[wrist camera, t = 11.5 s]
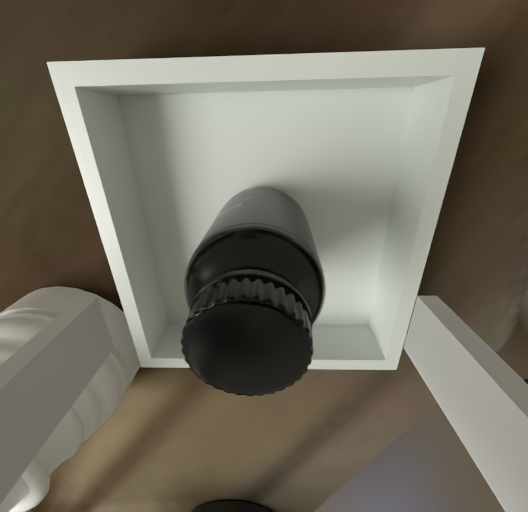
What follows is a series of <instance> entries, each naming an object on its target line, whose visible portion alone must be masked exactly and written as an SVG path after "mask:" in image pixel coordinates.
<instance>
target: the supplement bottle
mask: <svg viewBox="0 0 528 512" xmlns="http://www.w3.org/2000/svg"><path fill="white" fill-rule="evenodd" d="M184 293H185V298H186V302H187V305H188V308H189V310H190V311H189V315H188V318H187V320H186V322H185V324H184V326H183V329H182V337H181V345H182V351H181V352H182V353H183V355H184V356H185V362H186V363H187V364H188V365H189V367H190V370H192V371H193V372H195V374H196V376H197V377H198V378H200V379H202V380H203V381H204V382H205V383H206V384H209V385H212V386H213V387H214V388H216V389H220V390H223V391H225V392H227V393H234V394H237V395H247V396H253V395H260V396H262V395H264V394H273V393H275V392H276V391H281V390H284V389H285V388H286V387H288V386H292V385H293V384H294V383H295V381H298V380H300V379H301V377H302V375H303V374H304V373H306V372H307V370H308V366H309V365H310V364H311V362H312V355H313V352H314V348H313V336H312V325H313V324H314V323H315V321H316V320H317V318H318V316H319V315H320V313H321V310H322V308H323V305H324V301H325V294H326V285H325V278H324V273H323V269H322V266H321V262H320V259H319V256H318V253H317V249H316V246H315V243H314V240H313V237H312V233H311V230H310V227H309V224H308V221H307V218H306V216H305V214H304V212H303V210H302V208H301V207H300V206H299V204H298V203H297V202H296V201H295V200H294V199H293V198H292V197H290V196H289V195H287V194H286V193H284V192H282V191H280V190H277V189H273V188H267V187H256V188H250V189H247V190H244V191H242V192H240V193H238V194H236V195H235V196H233V197H232V198H231V199H230V200H229V201H228V202H227V203H226V204H225V205H224V207H223V208H222V209H221V211H220V212H219V214H218V216H217V217H216V219H215V220H214V222H213V223H212V225H211V227H210V228H209V230H208V231H207V233H206V234H205V236H204V238H203V239H202V241H201V242H200V244H199V245H198V247H197V249H196V250H195V252H194V253H193V255H192V257H191V259H190V261H189V263H188V266H187V269H186V272H185V277H184Z"/></svg>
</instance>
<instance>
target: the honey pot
mask: <svg viewBox="0 0 528 512" xmlns="http://www.w3.org/2000/svg"><path fill="white" fill-rule="evenodd" d="M79 297H98V300H99V303H100V306H101V309H102V312H103V315H104V318H105V321H106V324H107V327H108V330H109V333H110V336H111V339H112V342H113V345H114V349H113V350H112V352H111V353H110V355H109V356H108V357H107V359H106V360H105V361H104V363H103V364H102V366H101V367H100V368H99V370H98V371H97V372H96V374H95V375H94V377H93V378H92V379H91V381H90V382H89V383H88V385H87V386H86V388H85V389H84V390H83V392H82V393H81V394H80V396H79V397H78V399H77V400H76V401H75V403H74V404H73V405H72V407H71V408H70V409H69V411H68V412H67V414H66V415H65V416H64V418H63V419H62V420H61V422H60V423H59V425H58V426H57V427H56V429H55V430H54V431H53V433H52V434H51V436H50V437H49V438H48V440H47V441H46V442H45V444H44V445H43V447H42V448H41V449H40V451H39V452H38V453H37V455H36V456H35V458H34V459H33V460H32V462H31V463H30V464H29V466H28V467H27V468H26V470H25V471H24V473H23V474H22V475H21V477H20V478H19V479H18V481H17V482H16V484H15V485H14V486H13V488H12V489H11V490H10V492H9V493H8V495H7V496H6V497H5V499H4V500H3V501H2V503H1V504H0V512H25V511H27V510H29V509H31V508H33V507H35V506H36V505H38V504H39V503H40V502H41V501H42V499H43V498H44V497H45V495H46V494H47V493H48V490H49V483H50V474H51V473H52V472H53V471H54V470H55V469H56V468H57V467H58V466H59V465H60V464H61V463H62V462H63V461H64V460H66V459H68V458H70V457H71V456H73V455H74V454H75V452H76V451H77V450H78V448H79V447H80V446H81V444H82V442H83V441H85V440H87V439H88V438H89V437H90V436H91V435H92V433H93V432H94V431H95V429H96V428H97V427H98V426H100V425H101V424H103V423H105V422H106V421H107V420H108V419H109V417H110V416H111V415H112V414H113V412H114V411H115V410H116V408H117V407H118V405H119V402H120V400H121V399H122V398H123V396H124V394H125V392H126V391H127V389H128V387H129V386H130V384H131V382H132V380H133V378H134V377H135V375H136V373H137V371H138V369H139V368H140V366H141V365H140V361H139V358H138V355H137V352H136V348H135V345H134V342H133V339H132V336H131V332H130V329H129V326H128V323H127V320H126V316H125V313H124V312H123V311H122V310H120V309H119V308H118V307H117V306H115V305H114V304H113V303H111V302H109V301H107V300H105V299H104V298H102V297H100V296H98V295H96V294H93V293H90V292H87V291H84V290H81V289H77V288H70V287H60V286H56V287H48V288H41V289H39V290H36V291H34V292H32V293H29V294H27V295H26V296H24V297H23V298H21V299H20V300H19V301H17V302H16V303H14V304H13V305H11V306H10V307H8V308H7V309H5V310H4V311H2V312H1V313H0V365H1V364H2V363H4V362H5V361H6V360H7V359H8V358H9V357H11V356H12V355H13V354H14V353H15V352H16V351H18V350H19V349H20V348H21V347H22V346H23V345H25V344H26V343H27V342H28V341H29V340H30V339H32V338H33V337H34V336H35V335H36V334H37V333H39V332H40V331H41V330H42V329H43V328H44V327H46V326H47V325H48V324H49V323H50V322H51V321H53V320H54V319H55V318H56V317H57V316H58V315H60V314H61V313H62V312H63V311H64V310H65V309H67V308H68V307H69V306H70V305H71V304H72V303H74V302H75V301H76V300H77V299H78V298H79Z"/></svg>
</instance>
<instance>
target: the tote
mask: <svg viewBox="0 0 528 512" xmlns="http://www.w3.org/2000/svg"><path fill="white" fill-rule="evenodd" d="M484 50H485V48H456V49H426V50H396V51H366V52H336V53H306V54H276V55H246V56H216V57H186V58H156V59H126V60H96V61H66V62H47V65H48V69H49V72H50V75H51V78H52V81H53V85H54V88H55V91H56V94H57V97H58V101H59V104H60V107H61V110H62V114H63V117H64V120H65V123H66V126H67V130H68V133H69V136H70V139H71V143H72V146H73V149H74V152H75V155H76V159H77V162H78V165H79V168H80V171H81V175H82V178H83V181H84V184H85V188H86V191H87V194H88V197H89V200H90V204H91V207H92V210H93V213H94V217H95V220H96V223H97V226H98V229H99V233H100V236H101V239H102V242H103V246H104V249H105V252H106V255H107V258H108V262H109V265H110V268H111V271H112V274H113V278H114V281H115V284H116V287H117V291H118V294H119V297H120V300H121V303H122V307H123V310H124V313H125V316H126V320H127V323H128V326H129V329H130V332H131V336H132V339H133V342H134V345H135V348H136V352H137V355H138V358H139V361H140V365H141V367H157V368H190V367H189V365H188V364H187V363H186V362H185V356H184V355H183V353H182V352H181V351H182V345H181V337H182V329H183V326H184V324H185V322H186V320H187V318H188V315H189V311H190V310H189V308H188V305H187V302H186V298H185V293H184V277H185V272H186V269H187V266H188V263H189V261H190V259H191V257H192V255H193V253H194V252H195V250H196V249H197V247H198V245H199V244H200V242H201V241H202V239H203V238H204V236H205V234H206V233H207V231H208V230H209V228H210V227H211V225H212V223H213V222H214V220H215V219H216V217H217V216H218V214H219V212H220V211H221V209H222V208H223V207H224V205H225V204H226V203H227V202H228V201H229V200H230V199H231V198H232V197H233V196H235V195H236V194H238V193H240V192H242V191H244V190H247V189H250V188H256V187H267V188H273V189H277V190H280V191H282V192H284V193H286V194H287V195H289V196H290V197H292V198H293V199H294V200H295V201H296V202H297V203H298V204H299V206H300V207H301V208H302V210H303V212H304V214H305V216H306V218H307V221H308V224H309V227H310V230H311V233H312V237H313V240H314V243H315V246H316V249H317V253H318V256H319V259H320V262H321V266H322V269H323V273H324V278H325V285H326V294H325V301H324V305H323V308H322V310H321V313H320V315H319V316H318V318H317V320H316V321H315V323H314V324H313V325H312V336H313V348H314V352H313V355H312V362H311V364H310V365H309V366H308V369H359V370H396V369H397V366H398V362H399V358H400V355H401V351H402V347H403V344H404V340H405V337H406V333H407V329H408V326H409V322H410V318H411V315H412V311H413V308H414V304H415V300H416V297H417V293H418V289H419V286H420V282H421V279H422V275H423V271H424V268H425V264H426V260H427V257H428V253H429V250H430V246H431V242H432V239H433V235H434V231H435V228H436V224H437V221H438V217H439V213H440V210H441V206H442V202H443V199H444V195H445V192H446V188H447V184H448V181H449V177H450V173H451V170H452V166H453V163H454V159H455V155H456V152H457V148H458V144H459V141H460V137H461V134H462V130H463V126H464V123H465V119H466V115H467V112H468V108H469V105H470V101H471V97H472V94H473V90H474V86H475V83H476V79H477V76H478V72H479V68H480V65H481V61H482V57H483V54H484Z"/></svg>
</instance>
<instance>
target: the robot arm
mask: <svg viewBox="0 0 528 512" xmlns="http://www.w3.org/2000/svg"><path fill="white" fill-rule="evenodd" d="M113 349H114V345H113V342H112V339H111V336H110V333H109V330H108V327H107V324H106V321H105V318H104V315H103V312H102V309H101V306H100V303H99V300H98V297H79V298H78V299H77V300H76V301H75V302H74V303H72V304H71V305H70V306H69V307H68V308H67V309H65V310H64V311H63V312H62V313H61V314H60V315H58V316H57V317H56V318H55V319H54V320H53V321H51V322H50V323H49V324H48V325H47V326H46V327H44V328H43V329H42V330H41V331H40V332H39V333H37V334H36V335H35V336H34V337H33V338H32V339H30V340H29V341H28V342H27V343H26V344H25V345H23V346H22V347H21V348H20V349H19V350H18V351H16V352H15V353H14V354H13V355H12V356H11V357H9V358H8V359H7V360H6V361H5V362H4V363H2V364H1V365H0V504H1V503H2V501H3V500H4V499H5V497H6V496H7V495H8V493H9V492H10V490H11V489H12V488H13V486H14V485H15V484H16V482H17V481H18V479H19V478H20V477H21V475H22V474H23V473H24V471H25V470H26V468H27V467H28V466H29V464H30V463H31V462H32V460H33V459H34V458H35V456H36V455H37V453H38V452H39V451H40V449H41V448H42V447H43V445H44V444H45V442H46V441H47V440H48V438H49V437H50V436H51V434H52V433H53V431H54V430H55V429H56V427H57V426H58V425H59V423H60V422H61V420H62V419H63V418H64V416H65V415H66V414H67V412H68V411H69V409H70V408H71V407H72V405H73V404H74V403H75V401H76V400H77V399H78V397H79V396H80V394H81V393H82V392H83V390H84V389H85V388H86V386H87V385H88V383H89V382H90V381H91V379H92V378H93V377H94V375H95V374H96V372H97V371H98V370H99V368H100V367H101V366H102V364H103V363H104V361H105V360H106V359H107V357H108V356H109V355H110V353H111V352H112V350H113ZM404 349H405V351H406V352H407V354H408V356H409V357H410V359H411V360H412V362H413V364H414V365H415V367H416V369H417V370H418V372H419V373H420V375H421V377H422V378H423V380H424V381H425V383H426V385H427V386H428V388H429V390H430V391H431V393H432V394H433V396H434V398H435V399H436V401H437V402H438V404H439V406H440V407H441V409H442V410H443V412H444V414H445V415H446V417H447V418H448V420H449V422H450V423H451V425H452V427H453V428H454V430H455V431H456V433H457V434H458V436H459V438H460V439H461V441H462V443H463V444H464V446H465V447H466V449H467V451H468V452H469V454H470V456H471V457H472V459H473V460H474V462H475V464H476V465H477V467H478V468H479V470H480V472H481V473H482V475H483V477H484V478H485V480H486V481H487V483H488V485H489V486H490V488H491V489H492V491H493V493H494V494H495V496H496V497H497V499H498V501H499V502H500V504H501V506H502V507H503V509H504V510H505V512H528V379H522V378H521V377H520V376H519V375H517V374H516V373H515V372H514V371H513V370H512V369H511V368H510V367H509V366H508V365H507V364H506V363H505V362H504V361H503V360H502V359H501V358H500V357H499V356H498V355H497V354H496V353H495V352H494V351H493V350H492V349H491V348H490V347H489V346H488V345H487V344H486V343H485V342H484V341H483V340H482V339H481V338H480V337H479V336H478V335H477V334H476V333H475V332H473V331H472V330H471V329H470V328H469V327H468V326H467V325H466V324H465V323H464V322H463V321H462V320H461V319H460V318H459V317H458V316H457V315H456V314H455V313H454V312H453V311H452V310H451V309H450V308H449V307H448V306H447V305H446V304H445V303H444V302H443V301H442V300H441V299H440V298H439V297H438V296H417V299H416V303H415V307H414V311H413V315H412V318H411V322H410V326H409V330H408V334H407V338H406V341H405V345H404ZM192 512H271V511H270V510H268V509H266V508H264V507H261V506H258V505H255V504H251V503H247V502H240V501H217V502H211V503H207V504H204V505H201V506H199V507H197V508H195V509H194V510H193V511H192Z"/></svg>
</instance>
